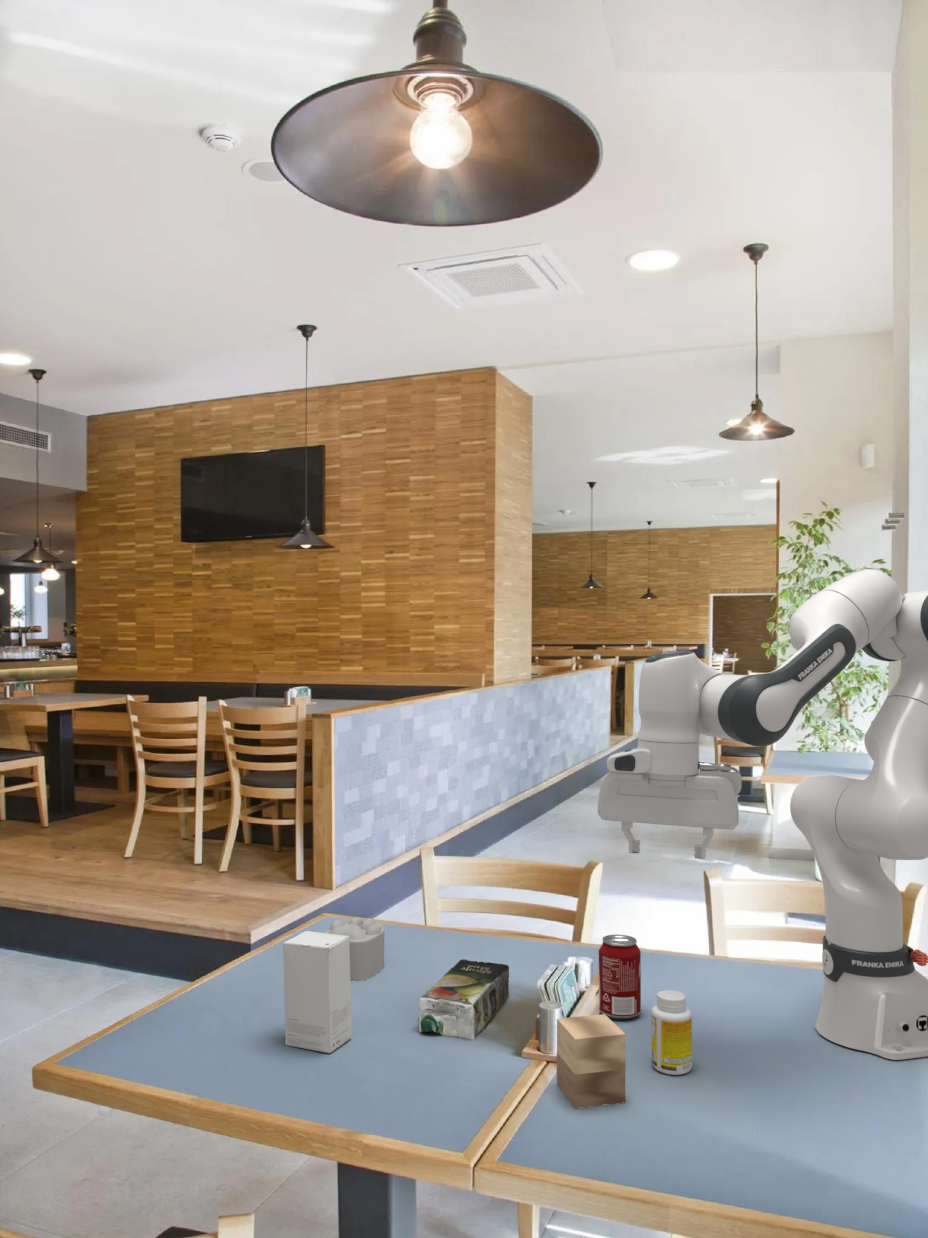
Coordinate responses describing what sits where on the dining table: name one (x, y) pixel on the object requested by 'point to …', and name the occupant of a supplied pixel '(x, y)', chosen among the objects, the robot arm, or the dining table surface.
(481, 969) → the juice carton
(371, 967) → the lumpy-topped squat cylinder
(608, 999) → the soda can
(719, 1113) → the dining table surface
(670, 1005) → the supplement bottle
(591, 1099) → the tower base block
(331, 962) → the skincare box
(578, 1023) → the tower top block
